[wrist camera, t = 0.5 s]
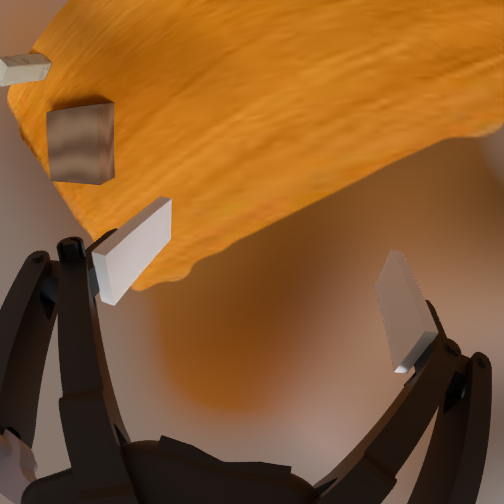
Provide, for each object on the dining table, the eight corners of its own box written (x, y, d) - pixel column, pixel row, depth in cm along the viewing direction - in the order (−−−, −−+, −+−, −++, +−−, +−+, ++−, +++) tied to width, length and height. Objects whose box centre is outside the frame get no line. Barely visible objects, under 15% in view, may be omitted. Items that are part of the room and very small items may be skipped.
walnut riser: (64, 108, 41) (46, 112, 36) (115, 102, 39) (97, 104, 35) (67, 173, 48) (51, 180, 44) (116, 176, 46) (99, 185, 42)
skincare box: (53, 62, 35) (8, 66, 25) (44, 80, 37) (1, 87, 27) (41, 53, 34) (-2, 56, 23) (33, 70, 36) (-9, 76, 26)
